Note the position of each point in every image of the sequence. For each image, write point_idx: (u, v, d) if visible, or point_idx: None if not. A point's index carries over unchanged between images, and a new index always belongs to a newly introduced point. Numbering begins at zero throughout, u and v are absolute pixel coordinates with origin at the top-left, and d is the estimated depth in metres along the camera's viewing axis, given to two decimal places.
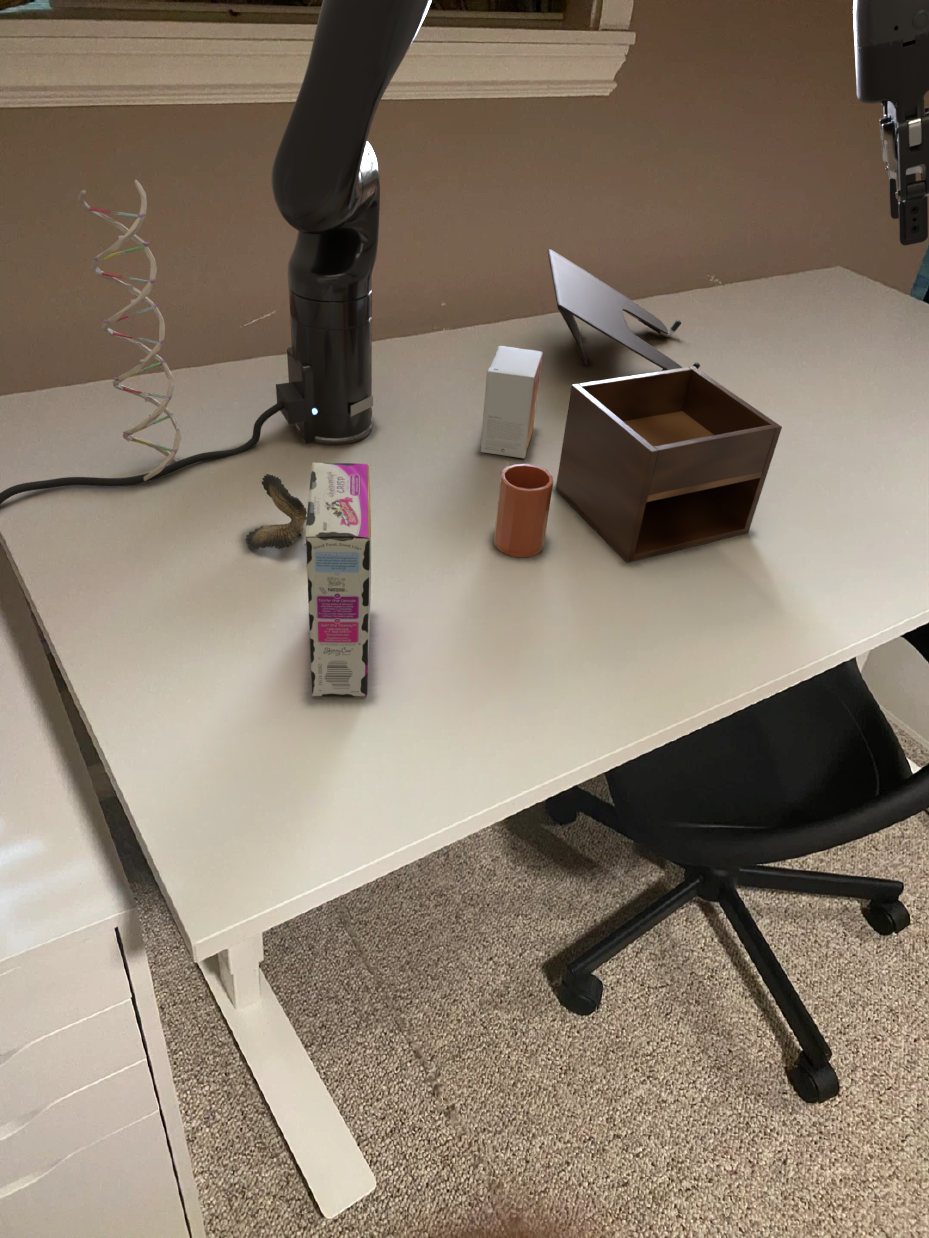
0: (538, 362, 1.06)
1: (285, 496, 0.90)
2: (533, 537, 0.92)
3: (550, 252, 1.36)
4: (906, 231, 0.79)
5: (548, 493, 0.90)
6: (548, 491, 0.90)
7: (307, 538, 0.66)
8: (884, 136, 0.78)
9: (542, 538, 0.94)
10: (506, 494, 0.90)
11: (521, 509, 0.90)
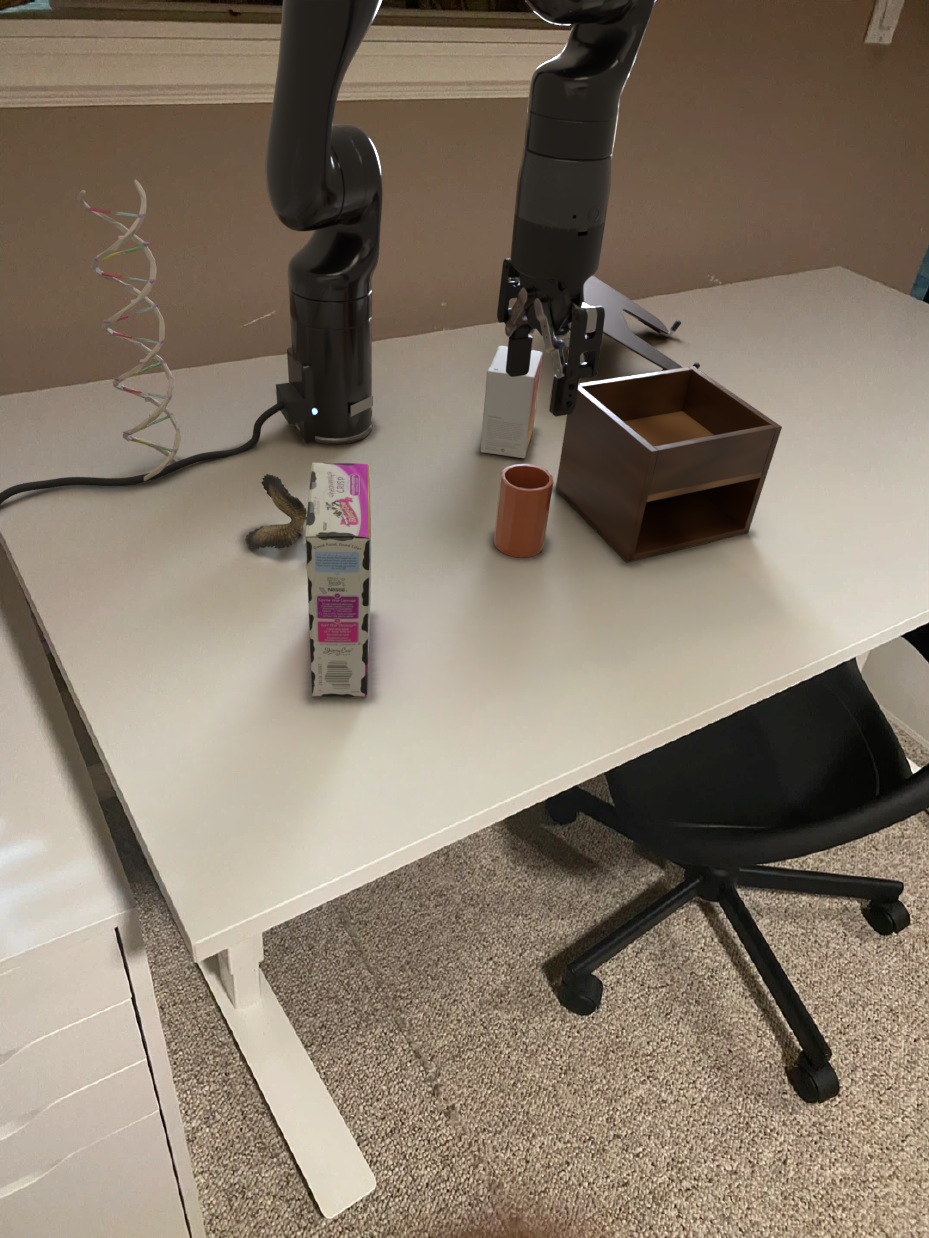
0: (538, 362, 1.06)
1: (285, 496, 0.90)
2: (533, 537, 0.92)
3: None
4: (562, 405, 0.80)
5: (548, 493, 0.90)
6: (548, 491, 0.90)
7: (307, 538, 0.66)
8: (542, 311, 0.77)
9: (542, 538, 0.94)
10: (506, 494, 0.90)
11: (521, 509, 0.90)
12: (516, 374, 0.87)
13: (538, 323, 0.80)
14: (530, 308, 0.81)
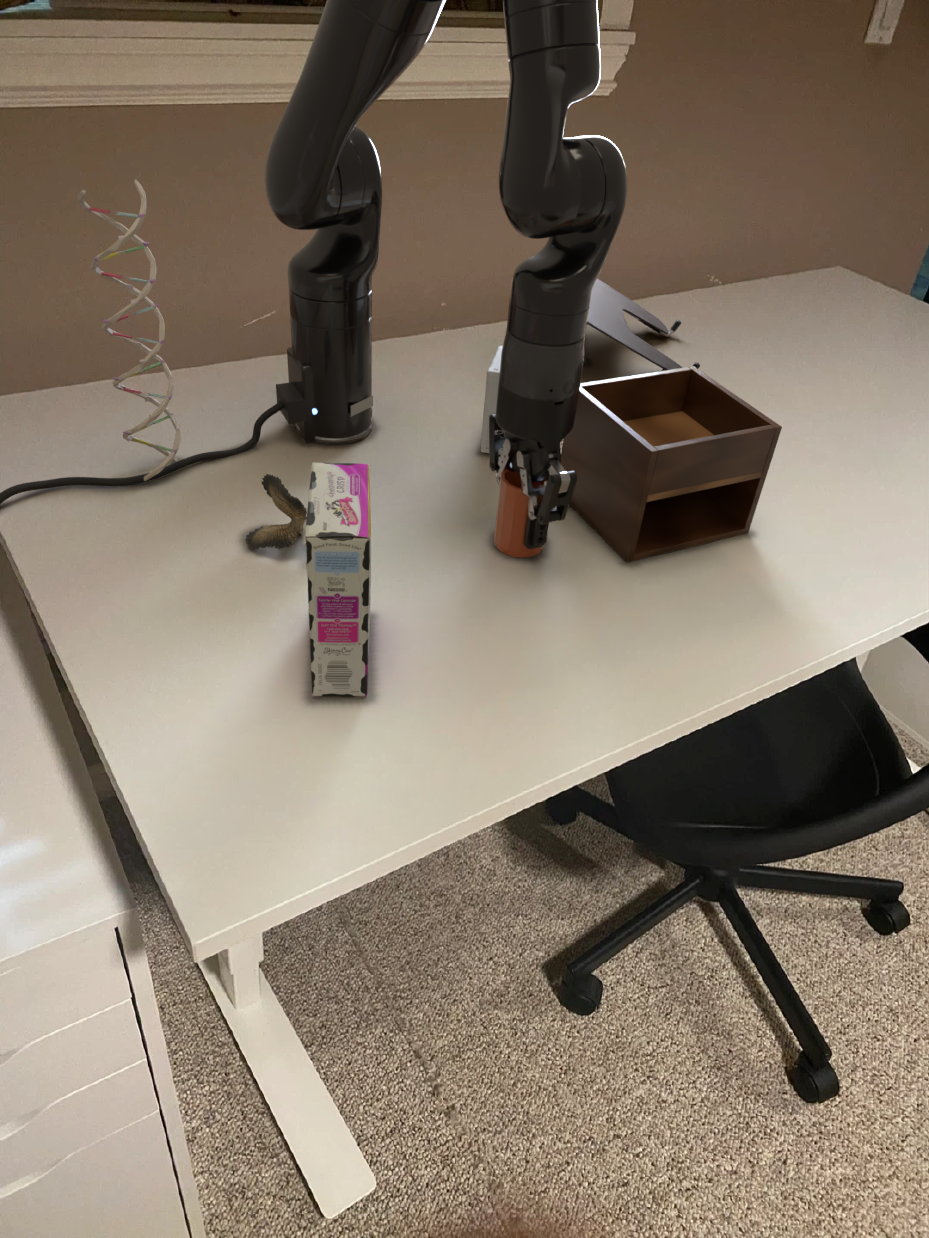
0: None
1: (285, 496, 0.90)
2: None
3: None
4: (534, 541, 0.91)
5: None
6: None
7: (307, 538, 0.66)
8: (523, 464, 0.87)
9: None
10: (506, 494, 0.90)
11: (521, 509, 0.90)
12: None
13: None
14: (514, 455, 0.90)
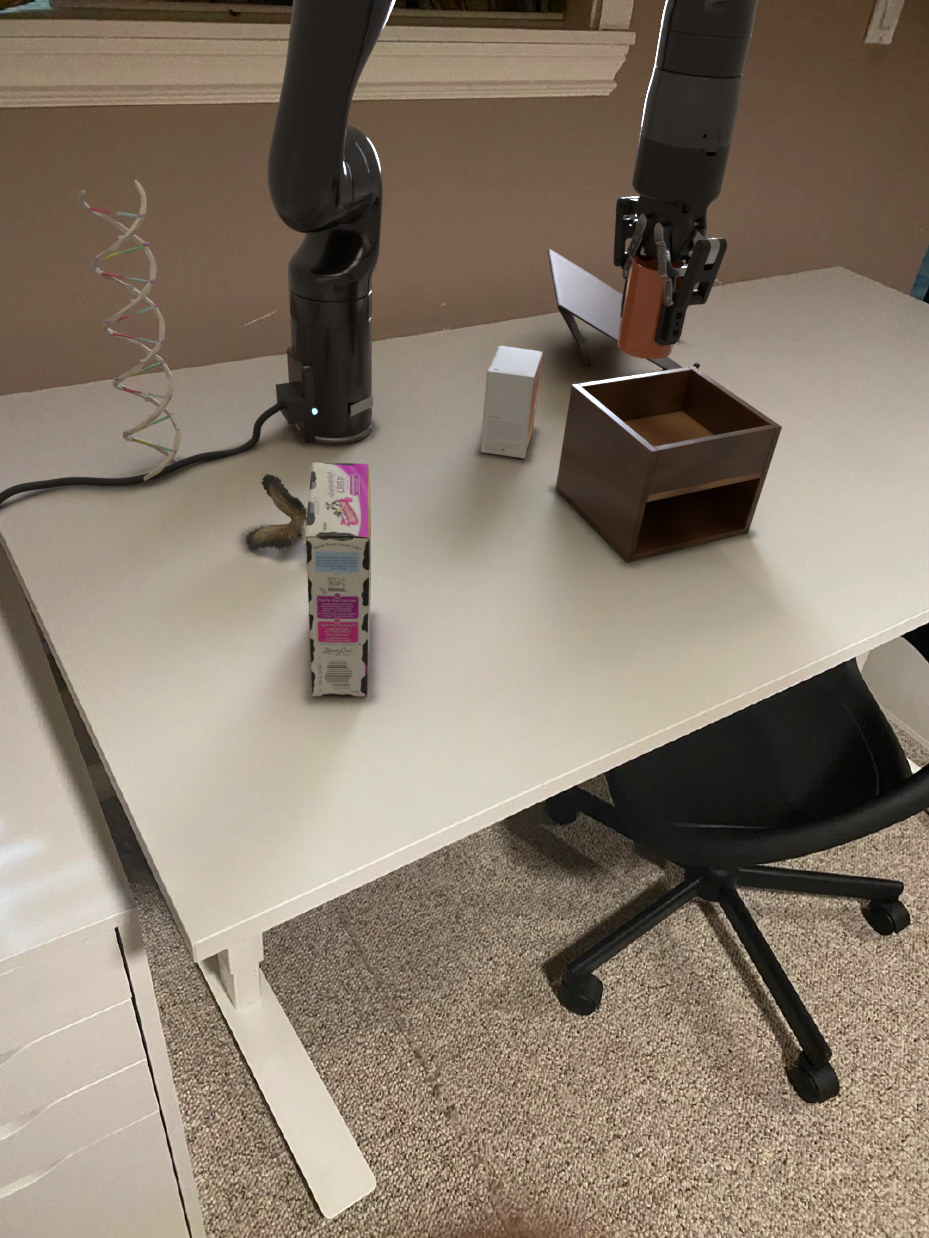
0: (538, 362, 1.06)
1: (285, 496, 0.90)
2: None
3: (550, 252, 1.36)
4: (669, 334, 0.82)
5: None
6: None
7: (307, 538, 0.66)
8: (663, 238, 0.78)
9: None
10: (639, 280, 0.82)
11: (655, 296, 0.82)
12: None
13: (656, 250, 0.81)
14: (648, 235, 0.81)
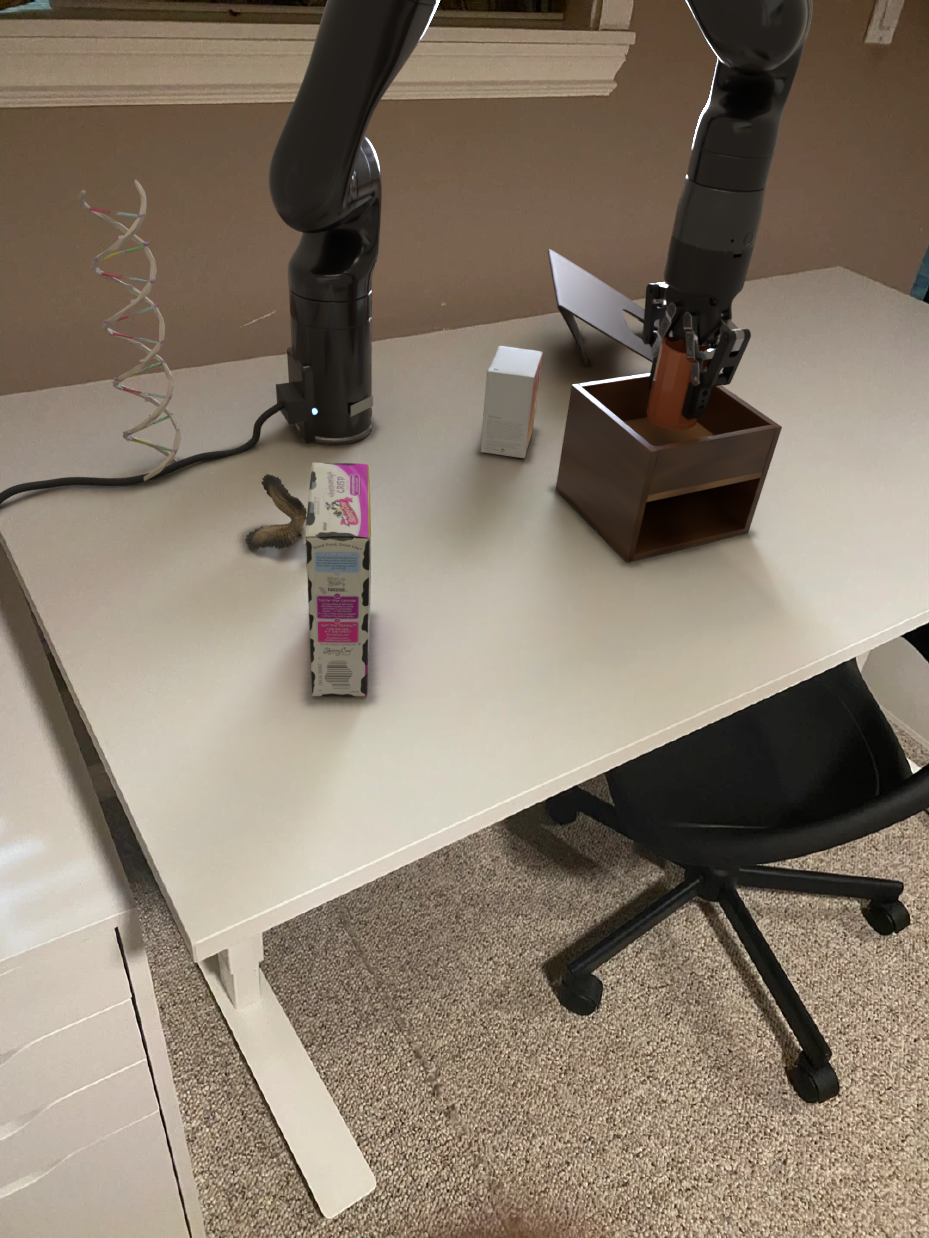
0: (538, 362, 1.06)
1: (285, 497, 0.90)
2: None
3: (550, 252, 1.36)
4: (695, 409, 0.90)
5: None
6: None
7: (307, 538, 0.66)
8: (691, 326, 0.86)
9: None
10: (668, 361, 0.89)
11: (683, 376, 0.89)
12: None
13: (684, 334, 0.88)
14: (676, 321, 0.89)
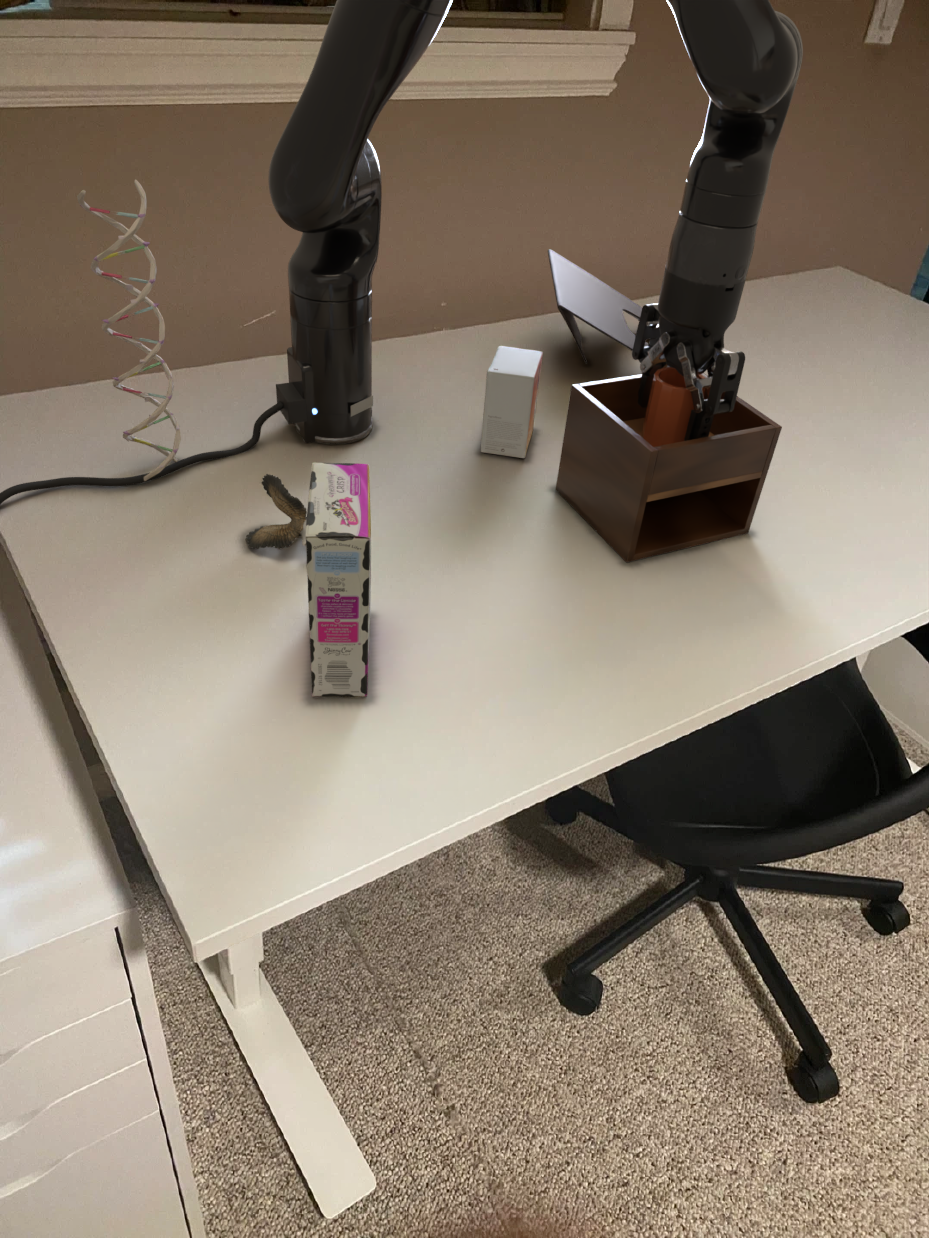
0: (538, 362, 1.06)
1: (285, 496, 0.90)
2: (683, 438, 0.94)
3: (550, 252, 1.36)
4: (697, 436, 0.91)
5: None
6: (703, 391, 0.91)
7: (307, 538, 0.66)
8: (686, 354, 0.88)
9: None
10: (661, 394, 0.92)
11: (676, 409, 0.92)
12: (647, 405, 0.98)
13: (677, 363, 0.90)
14: (670, 350, 0.91)
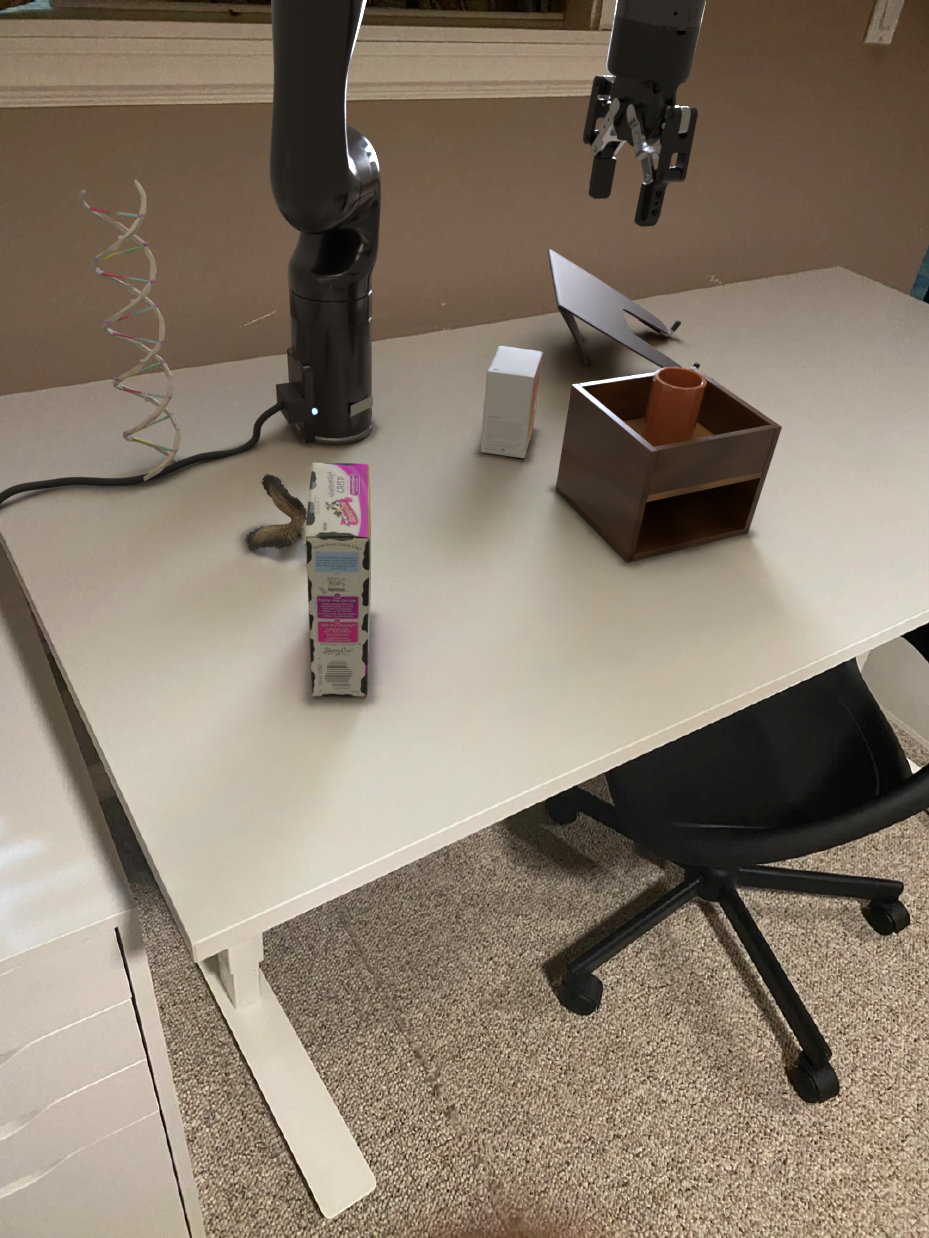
0: (538, 362, 1.06)
1: (285, 497, 0.90)
2: (683, 438, 0.94)
3: (550, 252, 1.36)
4: (648, 213, 0.85)
5: (702, 393, 0.92)
6: (703, 391, 0.91)
7: (307, 538, 0.66)
8: (635, 116, 0.82)
9: None
10: (661, 394, 0.92)
11: (676, 409, 0.92)
12: (598, 196, 0.92)
13: (628, 133, 0.84)
14: (620, 120, 0.85)
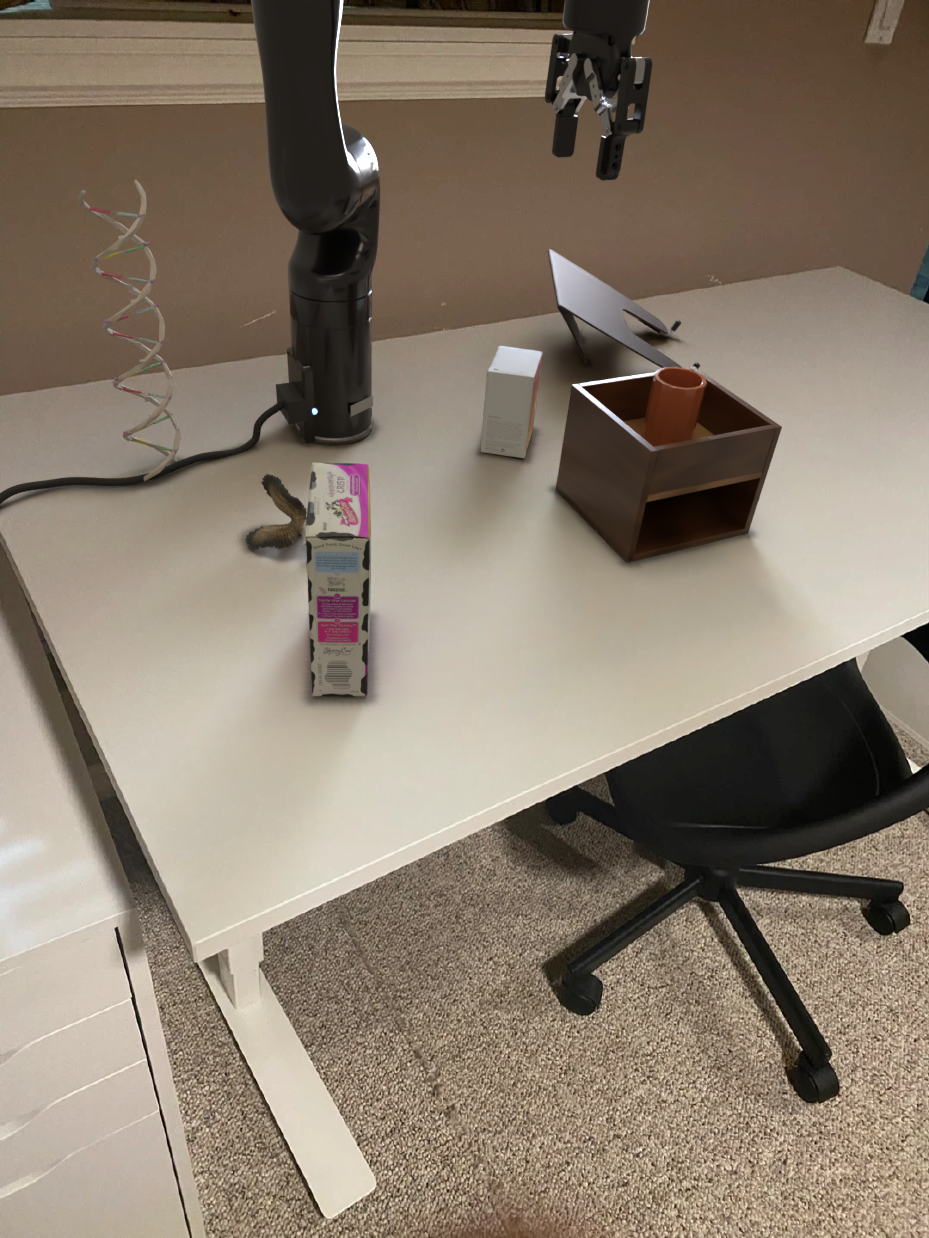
0: (538, 362, 1.06)
1: (285, 496, 0.90)
2: (683, 438, 0.94)
3: (550, 252, 1.36)
4: (608, 166, 0.86)
5: (702, 393, 0.92)
6: (703, 391, 0.91)
7: (307, 538, 0.66)
8: (592, 70, 0.83)
9: None
10: (661, 394, 0.92)
11: (676, 409, 0.92)
12: (562, 155, 0.93)
13: (587, 88, 0.86)
14: (579, 76, 0.86)
